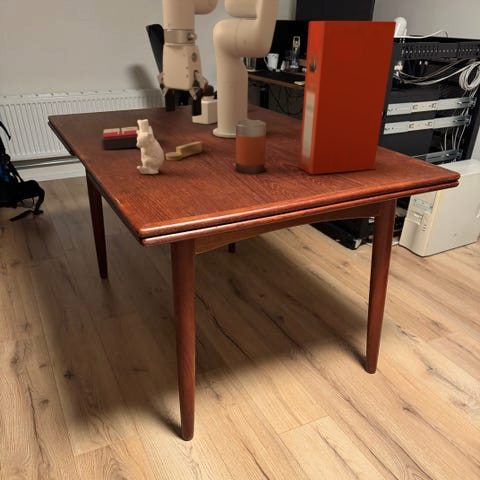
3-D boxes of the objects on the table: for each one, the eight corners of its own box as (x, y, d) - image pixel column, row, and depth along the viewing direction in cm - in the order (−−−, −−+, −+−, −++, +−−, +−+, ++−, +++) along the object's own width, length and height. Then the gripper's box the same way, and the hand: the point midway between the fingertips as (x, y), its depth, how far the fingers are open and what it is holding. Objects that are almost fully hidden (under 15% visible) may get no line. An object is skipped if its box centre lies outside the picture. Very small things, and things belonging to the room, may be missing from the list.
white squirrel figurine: (132, 169, 120) (127, 118, 113) (158, 166, 122) (154, 116, 116) (141, 178, 113) (135, 125, 107) (168, 175, 116) (164, 123, 109)
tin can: (256, 164, 124) (257, 118, 118) (269, 171, 119) (271, 124, 113) (230, 168, 122) (230, 121, 115) (243, 175, 116) (244, 127, 110)
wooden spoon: (194, 150, 137) (193, 140, 135) (205, 152, 135) (205, 143, 133) (162, 158, 129) (161, 148, 127) (173, 161, 126) (173, 151, 125)
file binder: (298, 166, 123) (309, 20, 106) (357, 161, 128) (377, 20, 110) (312, 175, 117) (325, 21, 99) (373, 169, 121) (397, 21, 104)
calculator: (101, 128, 143) (152, 124, 145) (104, 143, 145) (154, 138, 148) (101, 136, 134) (154, 131, 136) (104, 152, 136) (156, 147, 139)
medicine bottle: (219, 121, 172) (219, 84, 166) (208, 124, 167) (207, 87, 160) (203, 119, 175) (202, 83, 169) (192, 122, 170) (190, 85, 164)
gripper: (216, 39, 115) (217, 115, 124) (166, 37, 124) (170, 108, 133) (195, 39, 110) (197, 119, 119) (144, 37, 119) (150, 111, 128)
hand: (183, 113), depth 126 cm, fingers open, 9 cm apart
